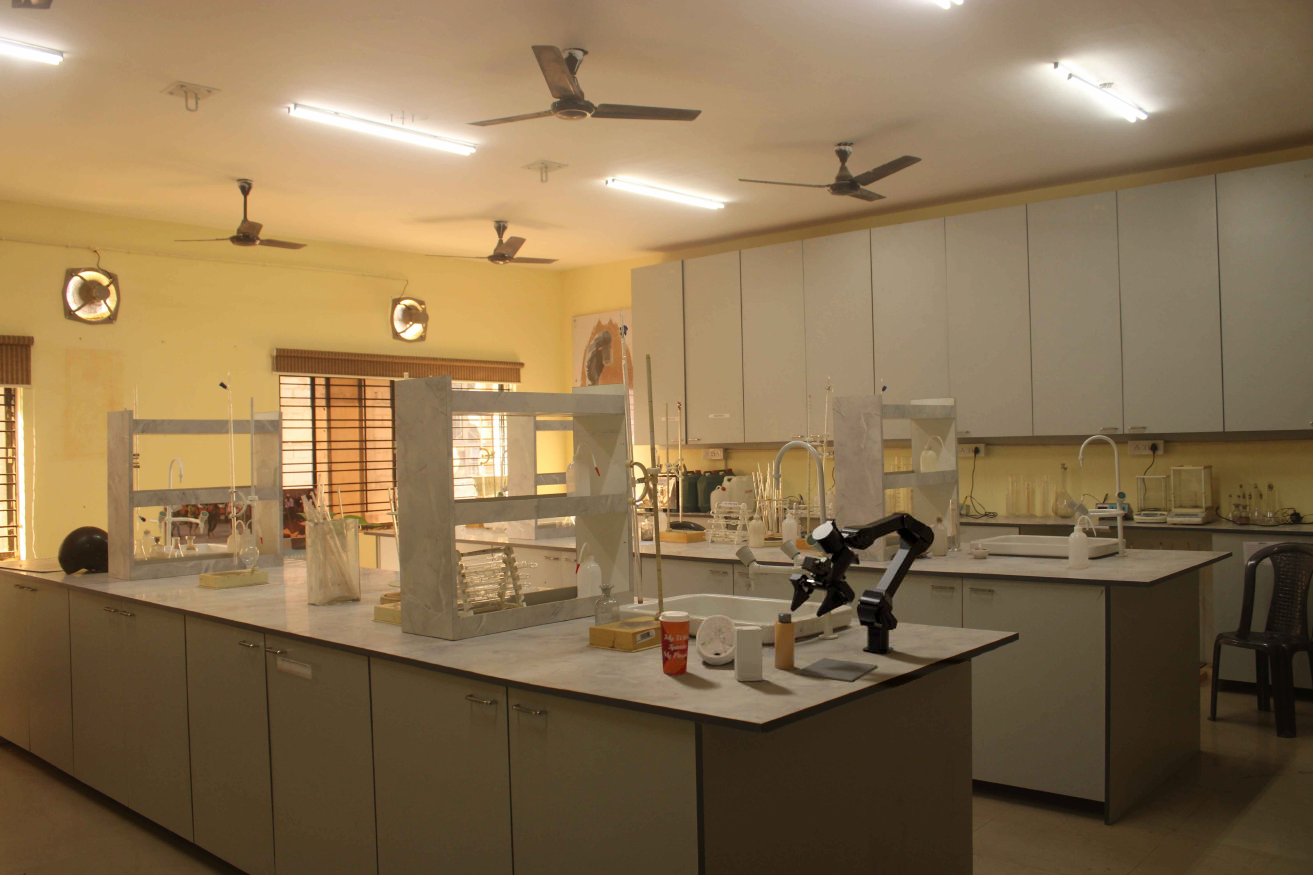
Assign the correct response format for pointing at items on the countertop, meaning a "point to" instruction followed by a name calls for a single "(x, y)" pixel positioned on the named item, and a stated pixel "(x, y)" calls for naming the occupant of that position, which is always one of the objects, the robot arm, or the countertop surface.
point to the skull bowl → (716, 640)
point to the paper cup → (674, 641)
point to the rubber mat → (836, 669)
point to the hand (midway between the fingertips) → (804, 613)
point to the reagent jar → (784, 642)
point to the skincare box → (748, 653)
